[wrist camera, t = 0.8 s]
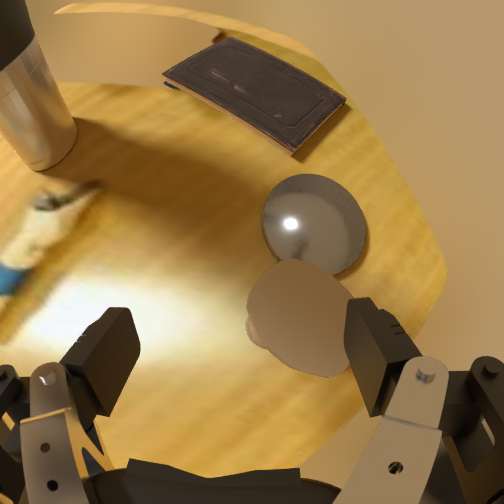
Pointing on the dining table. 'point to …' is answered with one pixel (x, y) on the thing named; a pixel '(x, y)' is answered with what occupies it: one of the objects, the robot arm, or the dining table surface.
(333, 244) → the disk
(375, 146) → the dining table surface
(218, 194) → the dining table surface
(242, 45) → the hardcover book
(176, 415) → the dining table surface
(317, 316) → the handle
